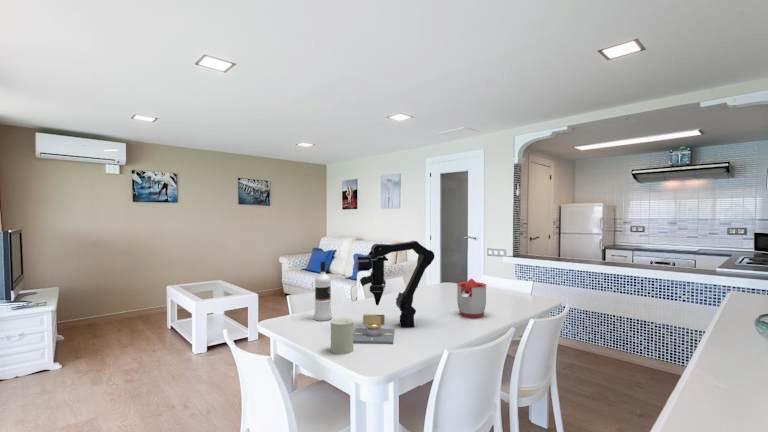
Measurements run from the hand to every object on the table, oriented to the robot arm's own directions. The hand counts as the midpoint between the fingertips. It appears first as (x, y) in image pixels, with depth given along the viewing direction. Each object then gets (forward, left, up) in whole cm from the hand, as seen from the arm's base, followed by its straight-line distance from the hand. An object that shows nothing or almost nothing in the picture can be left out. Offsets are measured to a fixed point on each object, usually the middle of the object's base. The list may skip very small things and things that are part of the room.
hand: (378, 302), depth 176 cm
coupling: (+1, +13, -8) cm, 15 cm away
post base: (+1, +13, -12) cm, 18 cm away
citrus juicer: (-48, -25, -12) cm, 56 cm away
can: (+12, +30, -12) cm, 35 cm away
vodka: (+30, -14, -12) cm, 35 cm away
